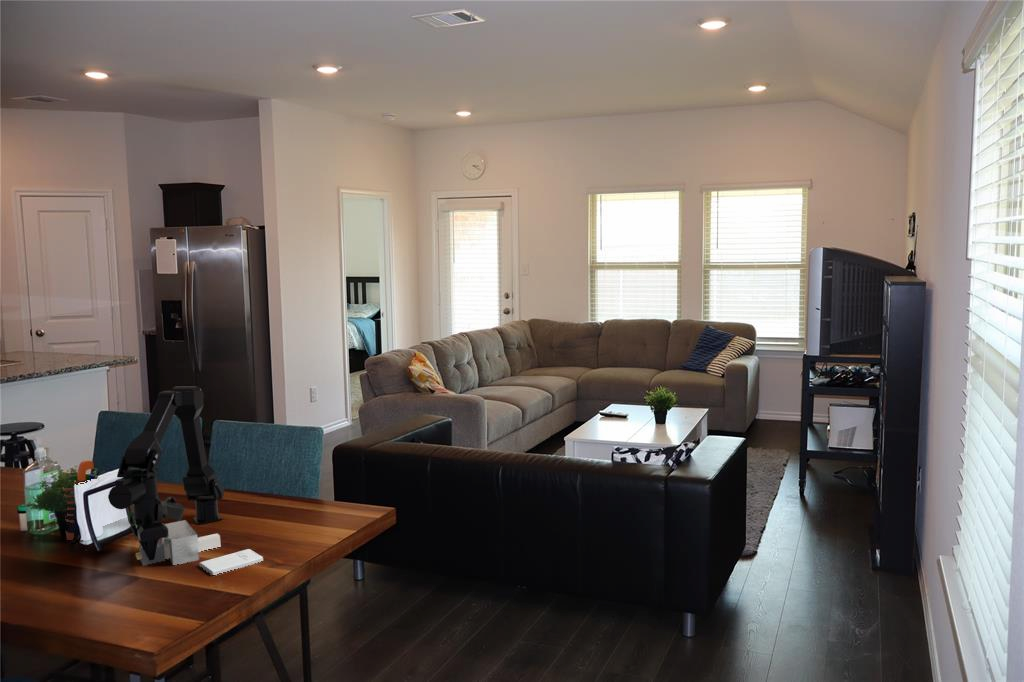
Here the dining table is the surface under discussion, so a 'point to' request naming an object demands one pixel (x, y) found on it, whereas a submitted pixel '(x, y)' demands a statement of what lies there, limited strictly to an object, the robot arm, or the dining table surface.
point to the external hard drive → (231, 562)
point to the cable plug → (164, 552)
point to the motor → (79, 478)
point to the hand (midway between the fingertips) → (150, 557)
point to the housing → (181, 542)
